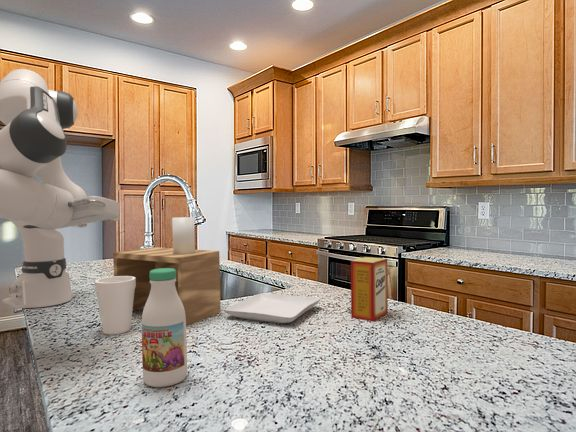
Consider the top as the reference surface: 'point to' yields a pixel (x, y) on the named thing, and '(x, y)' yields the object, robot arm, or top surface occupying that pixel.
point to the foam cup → (115, 302)
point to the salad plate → (272, 307)
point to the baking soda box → (369, 288)
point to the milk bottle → (163, 332)
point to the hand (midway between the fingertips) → (100, 221)
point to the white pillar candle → (183, 235)
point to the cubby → (189, 277)
